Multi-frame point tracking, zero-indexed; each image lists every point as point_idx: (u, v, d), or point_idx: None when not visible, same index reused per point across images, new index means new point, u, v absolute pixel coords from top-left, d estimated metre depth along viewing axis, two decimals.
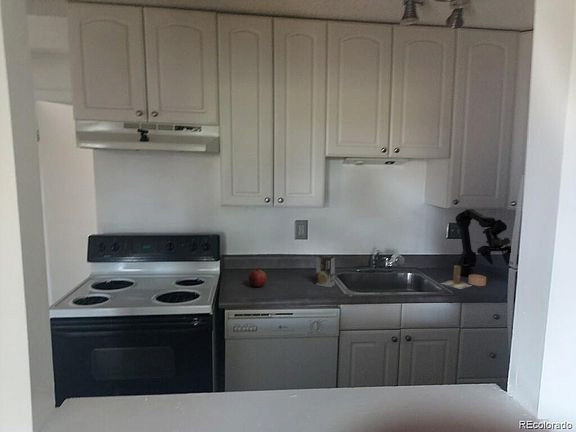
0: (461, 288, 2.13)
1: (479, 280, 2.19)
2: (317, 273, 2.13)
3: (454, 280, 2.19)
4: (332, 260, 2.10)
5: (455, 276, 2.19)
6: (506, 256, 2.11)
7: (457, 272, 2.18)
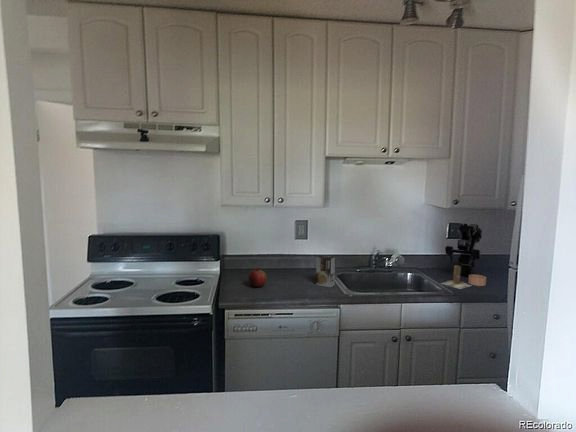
0: (461, 288, 2.13)
1: (479, 280, 2.19)
2: (317, 273, 2.13)
3: (454, 280, 2.19)
4: (332, 260, 2.10)
5: (455, 276, 2.19)
6: None
7: (457, 272, 2.18)
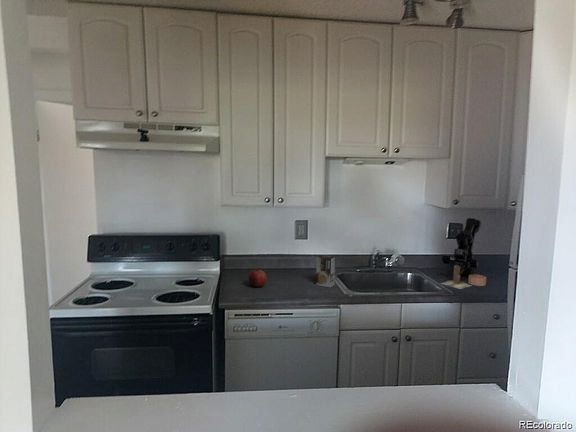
0: (461, 288, 2.13)
1: (479, 280, 2.19)
2: (317, 273, 2.13)
3: (454, 280, 2.19)
4: (332, 260, 2.10)
5: (455, 276, 2.19)
6: None
7: (457, 272, 2.18)
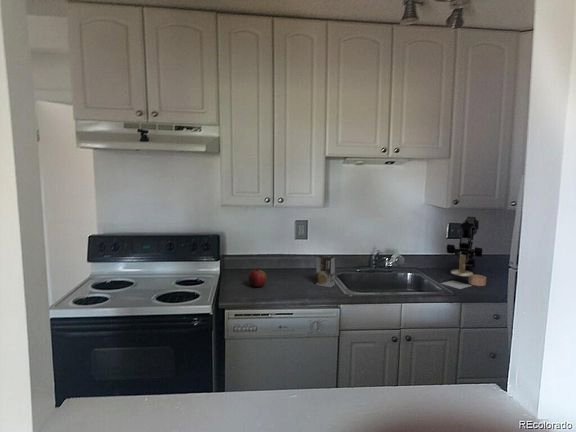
0: (461, 288, 2.13)
1: (479, 280, 2.19)
2: (317, 273, 2.13)
3: (460, 269, 2.18)
4: (332, 260, 2.10)
5: (461, 265, 2.18)
6: (467, 256, 2.19)
7: (463, 261, 2.17)
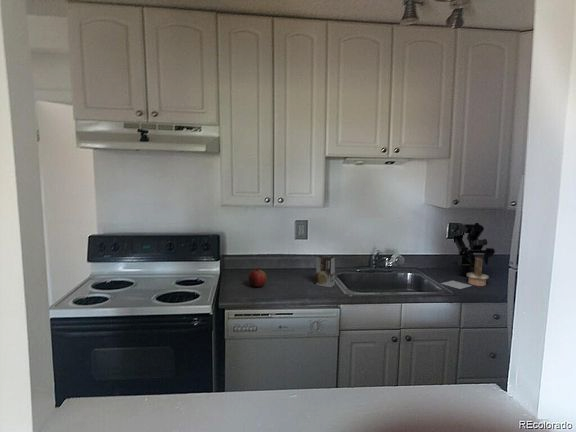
0: (461, 288, 2.13)
1: (479, 280, 2.19)
2: (317, 273, 2.13)
3: (477, 272, 2.21)
4: (332, 260, 2.10)
5: (478, 268, 2.21)
6: (485, 257, 2.23)
7: (480, 264, 2.21)
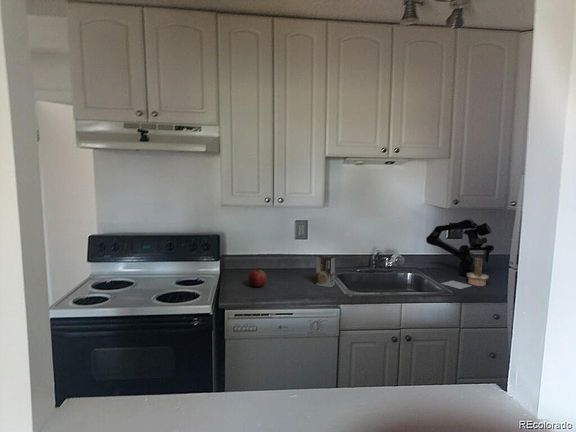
0: (461, 288, 2.13)
1: (479, 280, 2.19)
2: (317, 273, 2.13)
3: (477, 272, 2.21)
4: (332, 260, 2.10)
5: (478, 268, 2.21)
6: (486, 254, 2.30)
7: (480, 264, 2.21)
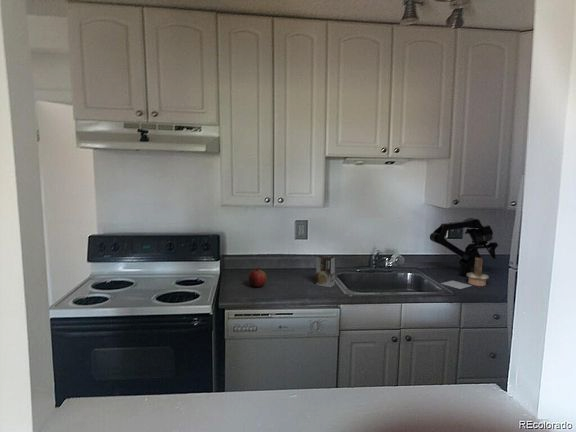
0: (461, 288, 2.13)
1: (479, 280, 2.19)
2: (317, 273, 2.13)
3: (477, 272, 2.21)
4: (332, 260, 2.10)
5: (478, 268, 2.21)
6: (492, 251, 2.31)
7: (480, 264, 2.21)
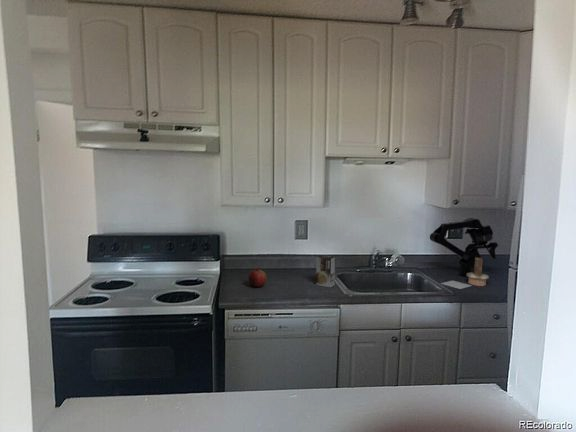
0: (461, 288, 2.13)
1: (479, 280, 2.19)
2: (317, 273, 2.13)
3: (477, 272, 2.21)
4: (332, 260, 2.10)
5: (478, 268, 2.21)
6: (492, 251, 2.31)
7: (480, 264, 2.21)
